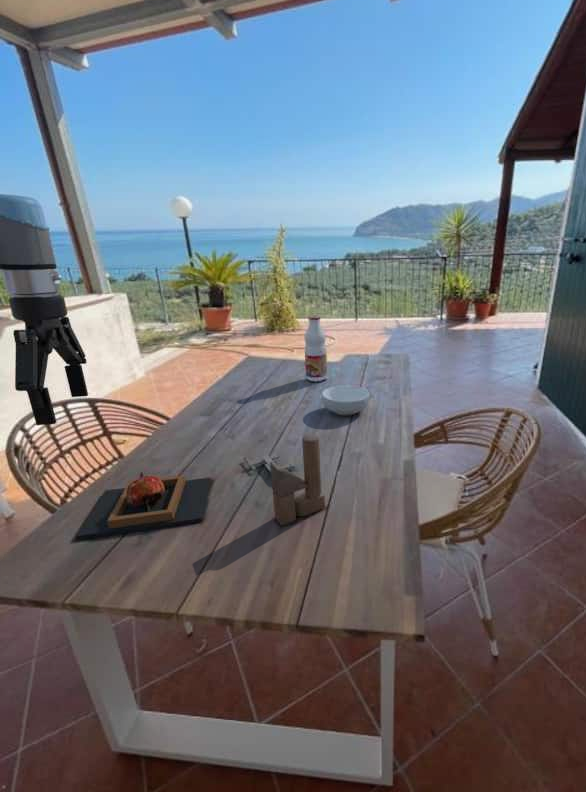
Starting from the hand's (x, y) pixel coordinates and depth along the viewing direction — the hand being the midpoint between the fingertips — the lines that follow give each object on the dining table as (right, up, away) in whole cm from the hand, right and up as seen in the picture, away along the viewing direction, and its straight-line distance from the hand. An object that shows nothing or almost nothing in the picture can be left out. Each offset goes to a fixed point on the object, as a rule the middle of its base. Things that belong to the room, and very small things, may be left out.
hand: (64, 409), depth 74 cm
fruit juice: (+37, +7, +99) cm, 106 cm away
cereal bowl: (+51, -5, +66) cm, 84 cm away
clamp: (+32, -18, +30) cm, 48 cm away
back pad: (+8, -23, +15) cm, 29 cm away
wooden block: (+43, -24, +13) cm, 51 cm away
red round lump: (+8, -23, +14) cm, 28 cm away
